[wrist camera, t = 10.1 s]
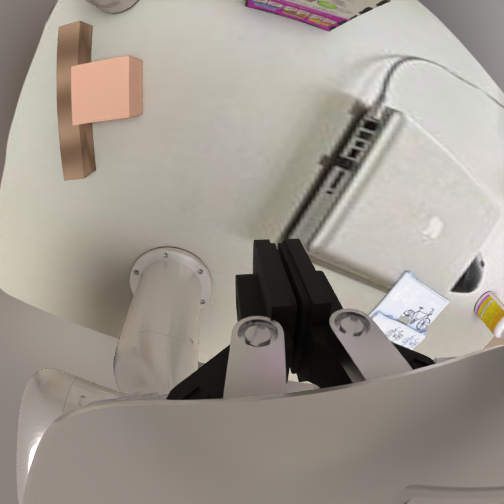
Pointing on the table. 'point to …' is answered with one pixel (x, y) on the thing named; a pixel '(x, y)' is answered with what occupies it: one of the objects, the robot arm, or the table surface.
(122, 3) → the energy drink can
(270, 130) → the table surface
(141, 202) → the table surface
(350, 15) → the candy bar box
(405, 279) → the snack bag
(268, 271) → the robot arm
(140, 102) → the terracotta block
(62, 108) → the walnut plank
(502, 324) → the supplement bottle
